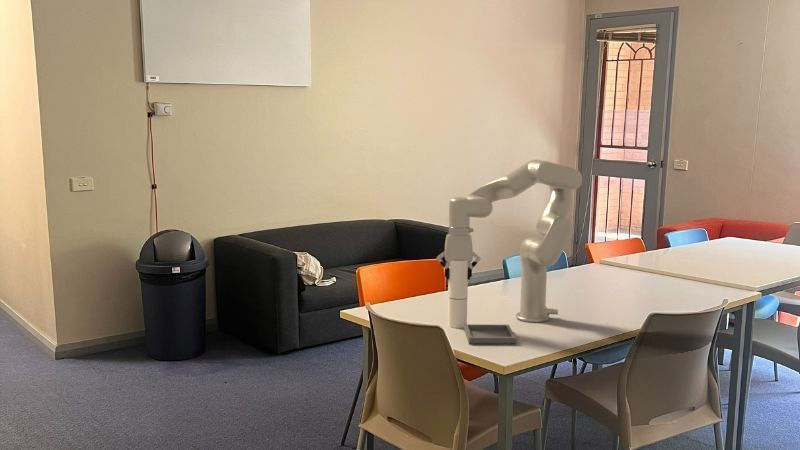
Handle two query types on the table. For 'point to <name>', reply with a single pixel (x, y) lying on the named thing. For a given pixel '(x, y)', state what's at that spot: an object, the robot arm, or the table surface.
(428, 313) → the table surface
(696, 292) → the table surface
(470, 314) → the table surface
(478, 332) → the desk tray
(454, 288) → the cylindrical container
